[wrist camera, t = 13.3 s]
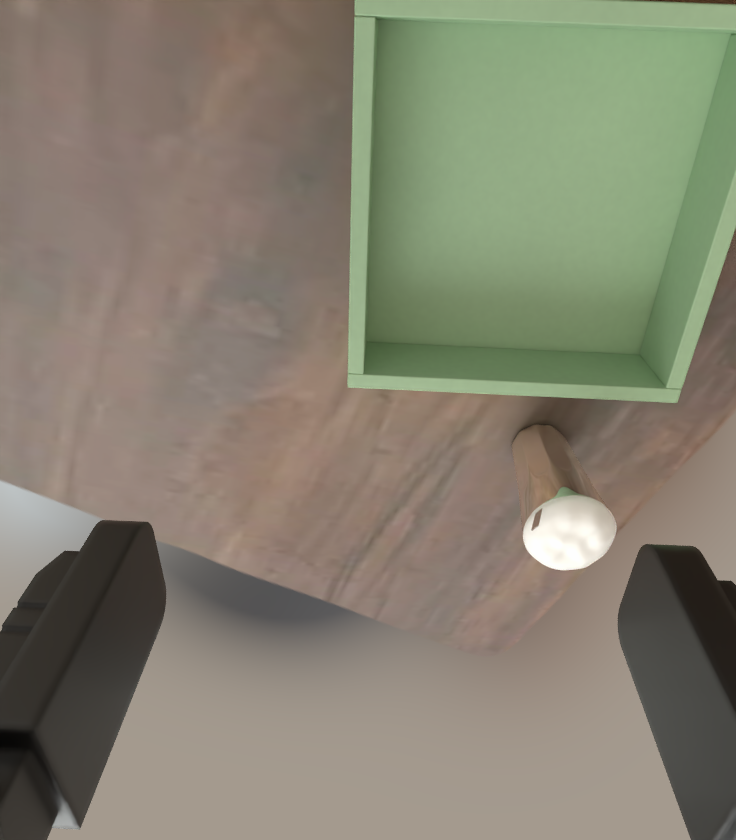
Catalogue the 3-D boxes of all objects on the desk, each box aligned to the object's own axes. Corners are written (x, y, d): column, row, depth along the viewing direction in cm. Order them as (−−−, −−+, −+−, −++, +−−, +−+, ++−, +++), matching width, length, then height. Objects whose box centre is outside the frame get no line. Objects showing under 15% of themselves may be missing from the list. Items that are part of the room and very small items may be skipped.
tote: (360, -3, 27) (354, -11, 23) (749, 12, 27) (810, 6, 23) (352, 349, 35) (347, 387, 31) (645, 363, 35) (677, 403, 31)
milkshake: (531, 392, 36) (573, 498, 28) (591, 443, 38) (648, 558, 29) (475, 441, 38) (499, 555, 30) (535, 487, 40) (573, 608, 31)
